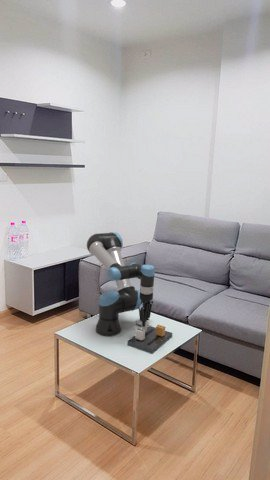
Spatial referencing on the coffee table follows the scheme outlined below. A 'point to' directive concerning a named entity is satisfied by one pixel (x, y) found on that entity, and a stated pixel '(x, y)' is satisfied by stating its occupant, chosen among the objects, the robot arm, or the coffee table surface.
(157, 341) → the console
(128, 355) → the coffee table surface
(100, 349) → the coffee table surface
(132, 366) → the coffee table surface
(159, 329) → the block
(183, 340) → the coffee table surface
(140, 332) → the fader
